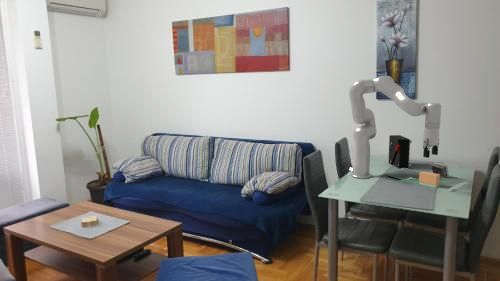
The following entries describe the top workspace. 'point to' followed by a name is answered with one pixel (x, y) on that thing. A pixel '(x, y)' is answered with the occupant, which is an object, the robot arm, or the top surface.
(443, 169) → the electrical switch
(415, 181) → the pin header board
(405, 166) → the electrical component
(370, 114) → the robot arm
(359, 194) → the top surface
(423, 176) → the plug housing
